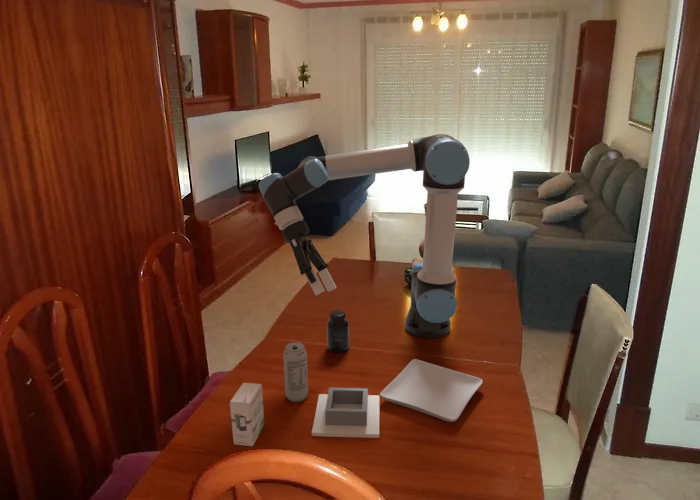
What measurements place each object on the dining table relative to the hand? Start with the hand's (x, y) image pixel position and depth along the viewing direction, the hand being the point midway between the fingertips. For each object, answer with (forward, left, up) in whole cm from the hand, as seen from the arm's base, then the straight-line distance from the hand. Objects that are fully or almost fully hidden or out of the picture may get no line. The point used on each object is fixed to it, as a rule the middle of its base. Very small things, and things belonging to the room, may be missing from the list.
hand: (326, 291), depth 150 cm
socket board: (-7, +24, -24) cm, 34 cm away
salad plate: (-29, +14, -24) cm, 40 cm away
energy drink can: (+7, +16, -24) cm, 30 cm away
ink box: (+16, +32, -24) cm, 43 cm away
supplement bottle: (-2, -11, -24) cm, 26 cm away
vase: (-35, -62, -24) cm, 75 cm away
